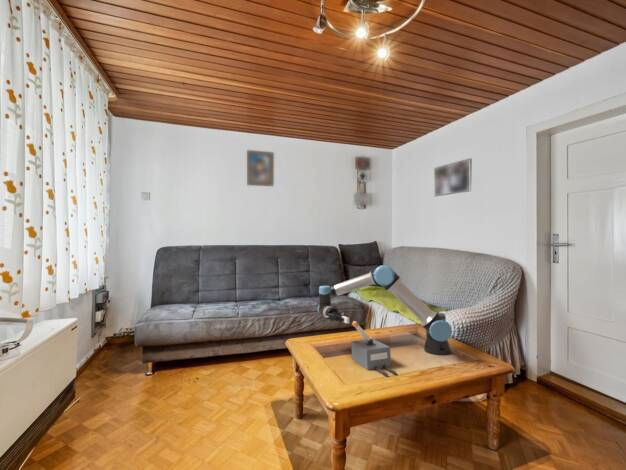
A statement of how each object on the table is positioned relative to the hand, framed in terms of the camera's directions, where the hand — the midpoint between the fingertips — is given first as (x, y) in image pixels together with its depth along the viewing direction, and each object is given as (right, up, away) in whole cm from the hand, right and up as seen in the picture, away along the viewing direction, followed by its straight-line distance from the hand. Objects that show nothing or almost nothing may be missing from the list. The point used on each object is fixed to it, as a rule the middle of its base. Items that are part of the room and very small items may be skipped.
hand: (348, 320), depth 149 cm
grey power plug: (+15, -25, +2) cm, 29 cm away
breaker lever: (+14, -15, +9) cm, 22 cm away
